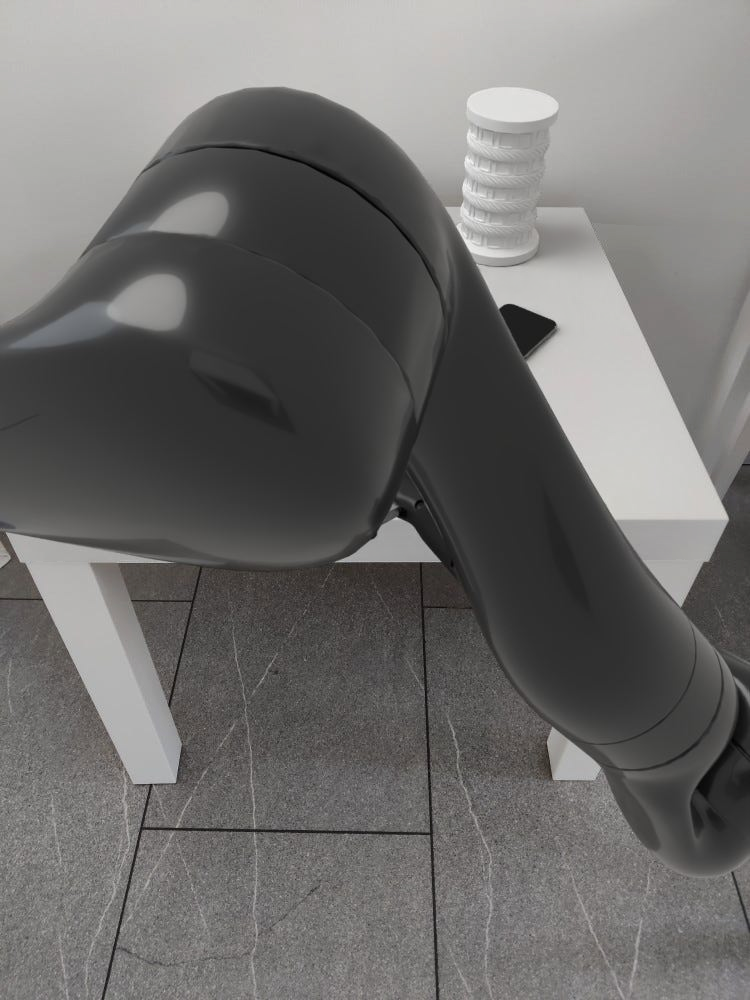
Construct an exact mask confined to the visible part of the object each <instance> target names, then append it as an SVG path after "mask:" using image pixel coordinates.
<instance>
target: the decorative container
mask: <svg viewBox="0 0 750 1000" xmlns="http://www.w3.org/2000/svg"><path fill="white" fill-rule="evenodd" d="M559 110H560V107H559V102H558V101H557V100H556V99H555V98H554V97H552V96H551V95H549V94H547V93H545V92H542V91H539V90H535V89H532V88H525V87H518V86H497V87H490V88H485V89H481V90H478V91H476V92H474V93H472V94H471V95H470V96H469V97H468V98H467V100H466V109H465V116H466V118H467V119H468V121H470V126H469V128H468V130H467V134H466V146H467V147H468V149H467V154H466V155H465V158H464V162H463V164H464V172H465V174H466V175H465V178H464V180H463V183H462V187H461V191H462V197H463V202H462V204H461V206H460V208H459V209H460V210H459V215H460V221H461V222H459V223H458V224H455V225H456V227H457V229H458V231H459V232H460V234H461V236H462V238H463V240H464V242H465V244H466V245H467V247H468V249H469V251H470V253H471V255H472V257H473V259H474V261H475V263H476V264H477V265H483V266H489V267H509V266H515V265H520V264H523V263H525V262H527V261H529V260H531V259H532V258H533V257H534V256H535V255H536V254H537V252H538V249H539V244H540V234H539V233H538V231H537V230H536V228H535V225H536V223H537V219H538V214H539V213H538V207H537V205H538V204H539V202H540V200H541V198H542V197H541V195H542V184H541V180H542V179H543V177H544V176H545V173H546V169H547V167H546V166H547V164H546V158H545V156H546V155H545V154H547V152H548V150H549V147H550V143H551V135H550V131H549V130H550V128H551V127H552V126H553V125H555V124H556V122H557V120H558V117H559Z"/></svg>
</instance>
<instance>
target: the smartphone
mask: <svg viewBox="0 0 750 1000" xmlns="http://www.w3.org/2000/svg"><path fill="white" fill-rule="evenodd" d="M498 309H499V311H500V313H501V315H502V317H503V319H504V320H505V322H506V324H507V326H508V328H509V330H510V332H511V334H512V336H513V338H514V340H515V342H516V344H517V346H518V348H519V350H520V352H521V354H522V356H523V357H524V359H526V358H527V357H528V356H529V355H530V354H531V353H533V351H535V350H536V349H537V348H538V347H539V346H540V345H541V344H542V343H543V342H544V341H545V340H547V338H549V337H550V336H551V335H552V334H553V333H554V332H555V331H556V329H557V322H556V321H555V320H553V319H552V318H549V317H547V316H544V315H542V314H540V313H537V312H534V311H531V310H529V309H527V308H524V307H522V306H519V305H517V304H514V303H505V304H503V305H502V306H500V307H498Z"/></svg>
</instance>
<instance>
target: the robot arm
mask: <svg viewBox="0 0 750 1000" xmlns="http://www.w3.org/2000/svg"><path fill="white" fill-rule="evenodd" d="M456 225H457V224H456V223H455V222H454V220H453V219H452V217H451V215H450V214H449V212H448V209H447V208H446V207H445V205H444V203H443V201H442V200H441V198H440V196H439V195H438V193H437V192H436V191H435V189H434V187H433V186H432V185H431V183H430V181H429V180H428V179H427V177H426V176H425V174H424V173H423V172H422V171H421V170H420V168H418V166H417V164H415V162H414V161H413V160H412V159H411V158H410V156H409V155H408V154H407V152H406V151H405V150H404V149H403V148H402V147H401V146H399V144H397V142H396V141H395V140H393V138H391V136H389V135H388V133H385V132H384V131H383V130H382V129H380V128H379V127H378V126H376V124H373V123H372V122H370V121H369V120H368V119H367V118H365V117H364V116H362V115H361V114H360V113H358V112H357V111H355V110H354V109H351V108H349V107H347V106H344V105H342V104H340V103H338V102H336V101H333V100H332V99H329V98H328V97H325V96H324V95H323V96H322V95H320V94H318V93H315V92H310V91H307V90H302V89H301V90H300V89H297V88H291V87H287V86H252V87H250V86H249V87H244V88H241V89H237V90H234V91H230V92H228V93H227V92H226V93H224V94H220V95H218V96H215V97H214V98H212V99H210V100H209V101H208V102H206V103H205V104H203V105H201V106H199V107H198V108H197V109H195V110H194V111H192V112H190V113H189V114H188V115H187V116H185V118H184V119H183V120H182V121H181V122H180V123H179V124H178V125H177V126H176V127H175V128H174V130H172V132H171V133H170V134H169V135H168V136H167V137H166V138H165V140H164V141H163V143H162V144H161V145H160V147H159V148H158V149H157V151H156V152H155V153H154V155H153V156H152V157H151V158H150V159H149V161H148V162H147V164H146V165H145V166H144V168H142V170H141V171H140V173H139V174H138V176H137V177H136V179H135V180H134V181H133V183H132V184H131V186H130V187H129V189H128V190H127V192H126V193H125V195H124V196H123V197H122V199H121V200H120V202H119V203H118V204H117V206H116V207H115V208H114V210H113V211H112V213H111V214H110V215H109V216H108V218H107V219H106V221H105V222H104V223H103V225H102V226H101V227H100V229H98V231H97V232H96V234H95V236H94V237H93V238H92V239H91V240H90V242H89V243H88V245H87V246H86V247H85V249H84V250H83V251H82V253H81V255H80V256H79V257H78V259H77V260H76V261H75V262H74V263H73V264H72V265H70V267H69V268H68V269H67V271H66V273H65V274H64V275H63V276H62V278H61V279H60V280H59V281H58V282H57V283H56V284H55V285H54V286H53V287H52V288H51V289H50V290H49V291H48V292H46V293H45V294H44V296H42V297H41V298H40V299H39V300H37V301H36V302H35V303H34V304H33V305H32V306H30V307H29V308H28V309H26V310H25V311H23V312H22V313H21V314H19V315H17V316H16V317H14V318H12V319H9V320H8V321H6V322H4V323H2V324H0V532H2V533H7V534H13V535H19V536H23V537H30V538H34V539H41V540H46V541H51V542H57V543H62V544H67V545H73V546H77V547H82V548H83V547H84V548H90V549H94V550H99V551H104V552H105V551H106V552H111V553H117V554H120V555H121V554H122V555H126V556H131V557H136V558H137V557H138V558H144V559H149V560H155V561H161V562H167V563H168V562H169V563H173V564H178V565H179V564H181V565H186V566H192V567H199V568H204V569H205V568H206V569H214V570H222V571H223V570H224V571H234V572H247V573H248V572H249V573H250V572H251V573H282V572H283V573H284V572H285V573H287V572H295V571H302V570H308V569H316V568H321V567H326V566H328V565H331V564H333V563H337V562H338V561H340V560H343V559H344V560H345V559H346V558H348V557H351V556H353V555H354V554H356V553H357V552H358V551H359V550H360V549H361V548H363V547H364V546H365V545H367V544H368V543H369V542H370V541H372V540H374V539H376V538H377V536H378V532H379V530H380V528H381V527H382V526H383V525H384V524H386V523H389V522H390V521H393V520H394V519H396V518H398V519H399V520H402V521H404V522H405V523H408V524H410V525H411V526H412V527H413V528H414V529H415V531H416V532H417V534H418V536H419V537H420V539H421V540H422V541H423V543H424V544H425V545H426V546H427V547H428V548H429V550H430V551H431V552H432V553H433V555H435V557H436V558H437V559H438V560H439V561H440V562H441V563H442V565H443V566H444V567H445V568H446V569H447V570H448V572H449V573H450V574H451V575H452V577H453V578H454V579H455V580H456V581H457V582H458V583H459V585H460V586H461V588H462V590H463V591H464V593H465V594H466V597H467V599H468V602H469V605H470V607H471V609H472V612H473V615H474V617H475V618H476V621H477V624H478V626H479V629H480V632H481V634H482V635H483V639H485V642H486V644H487V646H488V649H489V650H490V651H491V653H492V655H493V657H494V659H495V661H496V662H497V664H498V666H499V667H500V670H501V671H502V673H503V675H504V676H505V677H506V679H507V681H508V682H509V684H510V685H511V686H512V687H513V689H514V690H515V692H516V693H517V694H518V695H519V696H520V698H521V699H522V700H523V701H524V702H525V703H526V704H527V705H528V706H529V708H530V709H532V710H533V712H535V713H536V714H537V715H538V716H539V717H540V718H541V719H542V720H543V721H545V722H546V723H547V724H549V725H550V726H551V727H552V728H553V729H554V730H556V731H557V732H558V733H559V734H561V735H562V736H563V737H564V738H566V739H567V740H568V741H569V742H571V744H573V745H574V746H576V747H577V748H578V749H579V750H581V751H582V752H583V753H585V754H586V755H587V756H588V757H589V758H590V759H592V760H593V761H594V762H595V763H596V765H598V766H599V767H600V769H601V770H602V771H603V773H604V776H605V778H606V781H607V783H608V785H609V788H610V790H611V793H612V795H613V797H614V801H616V804H617V806H618V808H619V810H620V812H621V813H622V815H623V817H624V818H625V820H626V822H627V824H628V826H629V828H630V829H631V830H632V832H633V834H634V835H635V836H636V837H637V838H638V840H639V841H640V842H641V844H642V845H643V847H645V848H646V850H647V851H648V852H649V853H650V854H651V855H652V856H653V857H654V858H655V859H656V860H657V861H659V862H660V863H661V864H662V865H664V866H665V867H667V868H668V869H670V870H672V871H673V872H675V873H677V874H680V875H682V876H684V877H688V878H694V879H700V880H701V879H705V880H706V879H715V878H719V877H723V876H726V875H727V874H730V873H731V872H734V871H735V870H736V869H738V868H740V867H741V866H742V865H743V864H745V862H747V861H748V860H750V662H749V661H747V660H746V659H743V658H741V657H739V656H737V655H735V654H733V653H731V652H729V651H727V650H725V649H723V648H722V647H720V646H718V645H716V644H714V643H712V642H711V641H709V640H708V638H707V637H706V636H705V634H703V632H702V631H701V630H700V629H699V626H697V625H696V624H695V623H694V621H693V620H692V619H691V617H690V616H688V614H687V612H685V611H684V609H683V608H682V607H681V606H680V605H679V604H678V603H677V601H676V600H675V599H674V598H673V597H672V595H671V594H670V593H669V591H667V590H666V589H665V587H664V586H663V585H662V583H660V581H659V580H658V578H657V577H656V576H655V575H654V573H653V572H652V571H651V569H650V568H649V567H648V566H647V564H646V563H645V561H643V559H642V558H641V556H640V554H639V553H638V552H637V550H636V549H635V548H634V546H633V545H632V544H631V542H630V541H629V539H628V538H627V536H626V535H625V533H624V531H623V530H622V528H621V527H620V525H619V524H618V522H617V520H616V519H615V518H614V516H613V514H612V512H611V511H610V509H609V507H608V506H607V504H606V503H605V501H604V499H603V497H602V496H601V494H600V492H599V491H598V489H597V488H596V486H595V484H594V481H592V479H591V477H590V476H589V473H588V472H587V470H586V468H585V467H584V464H583V463H582V461H581V459H580V458H579V456H578V454H577V453H576V451H575V449H574V447H573V446H572V443H571V442H570V440H569V438H568V436H567V434H566V433H565V430H564V429H563V427H562V425H561V424H560V422H559V420H558V418H557V416H556V415H555V412H554V411H553V409H552V407H551V405H550V403H549V401H548V399H547V398H546V396H545V394H544V392H543V390H542V388H541V387H540V385H539V383H538V381H537V379H536V377H535V376H534V373H533V371H532V370H531V369H530V367H529V365H528V363H527V361H526V358H524V357H523V356H522V354H521V352H520V350H519V348H518V346H517V344H516V342H515V340H514V338H513V336H512V334H511V332H510V330H509V328H508V326H507V324H506V322H505V320H504V319H503V317H502V315H501V313H500V311H499V306H498V305H497V303H496V301H495V298H494V297H493V295H492V292H491V291H490V289H489V287H488V284H487V283H486V280H485V278H484V276H483V274H482V273H481V270H480V268H479V265H478V264H477V263H475V261H474V259H473V257H472V255H471V253H470V251H469V249H468V247H467V245H466V244H465V242H464V240H463V238H462V236H461V234H460V232H459V231H458V229H457V227H456Z"/></svg>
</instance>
